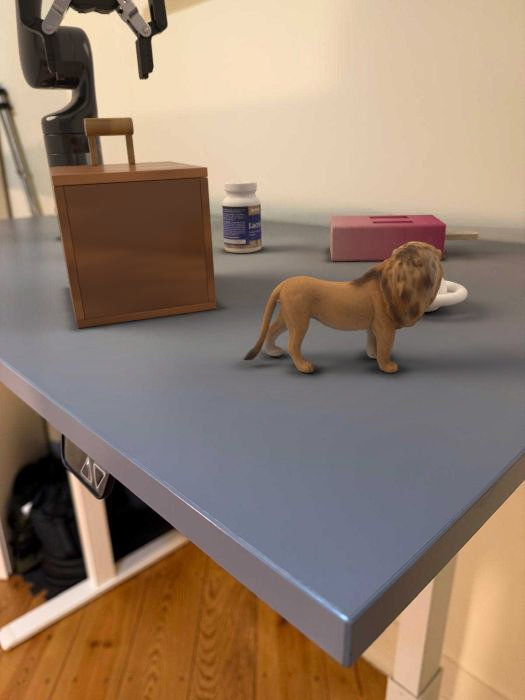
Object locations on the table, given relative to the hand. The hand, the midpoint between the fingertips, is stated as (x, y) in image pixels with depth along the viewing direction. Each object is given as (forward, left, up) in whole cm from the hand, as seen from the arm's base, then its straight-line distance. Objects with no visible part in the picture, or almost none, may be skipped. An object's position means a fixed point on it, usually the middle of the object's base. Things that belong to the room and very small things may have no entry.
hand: (103, 79), depth 57 cm
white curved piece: (+23, +25, -22) cm, 41 cm away
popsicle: (+1, +38, -23) cm, 44 cm away
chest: (+6, 0, -22) cm, 23 cm away
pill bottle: (-13, +19, -22) cm, 32 cm away
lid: (+6, 0, -9) cm, 11 cm away
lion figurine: (+31, +12, -22) cm, 40 cm away
